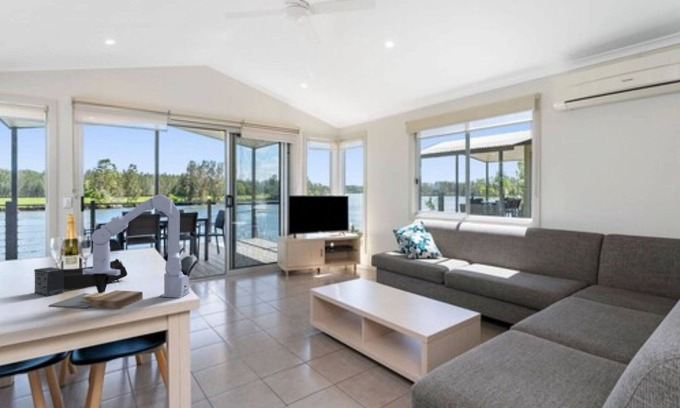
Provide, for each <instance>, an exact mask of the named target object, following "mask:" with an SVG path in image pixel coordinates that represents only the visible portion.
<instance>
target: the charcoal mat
mask: <svg viewBox="0 0 680 408" xmlns="http://www.w3.org/2000/svg"><path fill="white" fill-rule="evenodd" d="M88 294H90V293H87V292H86V293H81V294H78V295H75V296H72V297H69V298H66V299H63V300H59V301H57V302H53V303H50V304H49V305H48V307H54V308H55V307H56V308H57V307H58V308H69V309H70V308H71V309H89V308H91V307H90V302H84V301H82V296H85V295H88Z"/></svg>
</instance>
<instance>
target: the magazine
mask: <svg viewBox="0 0 680 408" xmlns="http://www.w3.org/2000/svg"><path fill="white" fill-rule="evenodd" d="M56 268H57V269H60V268H58V267H56ZM110 268H111V269H116V270H120V275H117V276H115V275H112V276H111V278H110V279H109V281H108V283H107V284H109V283H112V282H115V281H116V282H120V280H121V279H123V278H125V277H126V276H128V272H127V269H126V266H124V264H123V262H122V260H119V258H115V260H112V261H111V260H110ZM62 269H63V287H64V291H66V290H67V291H68V290H80V289H86V288H92V287H93V288H94V287H96V285H95V283H94V281H93V280H92V279H91V276H93V275H94V274H83V269H93V265H92V266H86V267H78V268H62Z"/></svg>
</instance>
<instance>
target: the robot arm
mask: <svg viewBox="0 0 680 408" xmlns="http://www.w3.org/2000/svg"><path fill="white" fill-rule="evenodd" d="M154 209H155V210H158V211H160V212H163V214H164V215H166V216H167V217H168V219H167V220H168V222H167V223H168V225H167V226H168V228H167V229H168V230H167V231H168V232H167V236H168V237H167V260H166V263H165V268H164V269H165V273H164V276H163V279H164V281H163V284H164V285H163V286H164V287H163V291H164V292H163V293H162V294H160V295H159V297H161V298H162V297H163V298H177V299H178V298H182V297H184V296H186V295H188V294H190V293H191V291H190V277H189V276H188V275H185V274H184V273H183V271H182V268H183V267H182V262H181V260H180V230H181V229H180V227H181V225H180V224H181V221H180V220H181V215H180V213H181V212H180V210H179V208H177V206H176V205H175V203H174V202H173V201H172V199H171V198H169V197H168V196H166V195H165V194H162V193H161V194H155V196H153V197H151V198H149V199H146V200H145V201H142V202H141V203H139V204H138V205H136V207H135V208H132V209H131V210H130V211H129V212H127V213H125V215H123V216H120V215H118V216H116V217H115V216H113V217H112V218H111V220H110V221H108V222H107V223H105V224H102V225H101V226H100V227H99V229H96V230H95V231H94V232H93V233H92V234H91V236H90V237H91V241H92V242H93V243H92V246H93V247H92V266H93V269H83V274H94V275H93V276H91V279H92V280H93V281H94V283H95V285H96V286H95V287H96V290H97V292H98V293H106V290H107V285H108V284H109V283H108V281H109V279H110V278H111V276H112V275H115V276H117V275H120V270H116V269H111V268H110V262H111V246H110V240H111V239H112V237H113V238H114V237H115V236H117V235H118V234H119V233H121V232H123V231H124V230H126V229H127V228H128V226H129V222H131V221H132V220H134V219H135V218H137V217H138V216H140V215H141V214H143V213H144V212H147V211H153V210H154Z"/></svg>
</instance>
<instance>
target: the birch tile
mask: <svg viewBox="0 0 680 408" xmlns="http://www.w3.org/2000/svg"><path fill="white" fill-rule="evenodd" d="M108 293H109V292H103V293H98V291H96V292H91V293H89V294H88V295H85V296H82V301H84V302H90V300H91V299H94V298H96V297H99V296H102V295H105V294H108Z"/></svg>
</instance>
